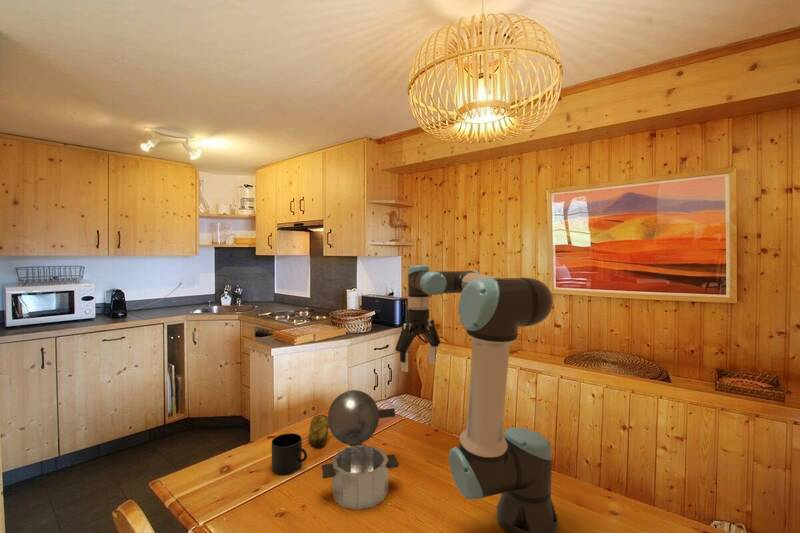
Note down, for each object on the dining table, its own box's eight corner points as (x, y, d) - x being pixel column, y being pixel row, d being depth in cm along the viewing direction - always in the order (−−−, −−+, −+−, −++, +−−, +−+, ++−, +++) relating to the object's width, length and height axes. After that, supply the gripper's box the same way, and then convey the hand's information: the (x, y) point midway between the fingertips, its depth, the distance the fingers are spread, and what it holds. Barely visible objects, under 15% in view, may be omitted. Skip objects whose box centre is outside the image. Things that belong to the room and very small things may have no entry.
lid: (392, 386, 130) (390, 387, 132) (326, 392, 124) (326, 394, 126) (398, 439, 122) (397, 440, 125) (329, 449, 116) (328, 449, 119)
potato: (301, 448, 135) (301, 426, 135) (314, 431, 148) (314, 411, 148) (323, 449, 134) (323, 427, 134) (334, 432, 147) (334, 412, 147)
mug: (299, 478, 117) (299, 450, 117) (265, 472, 120) (265, 444, 120) (313, 462, 126) (313, 435, 126) (282, 457, 129) (282, 431, 129)
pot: (403, 501, 106) (403, 469, 106) (324, 515, 101) (324, 481, 100) (388, 467, 123) (388, 439, 123) (320, 478, 117) (320, 448, 117)
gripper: (435, 304, 146) (435, 359, 146) (385, 310, 129) (385, 371, 130) (449, 306, 140) (449, 363, 140) (399, 312, 124) (399, 376, 124)
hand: (418, 367), depth 135 cm, fingers open, 13 cm apart
